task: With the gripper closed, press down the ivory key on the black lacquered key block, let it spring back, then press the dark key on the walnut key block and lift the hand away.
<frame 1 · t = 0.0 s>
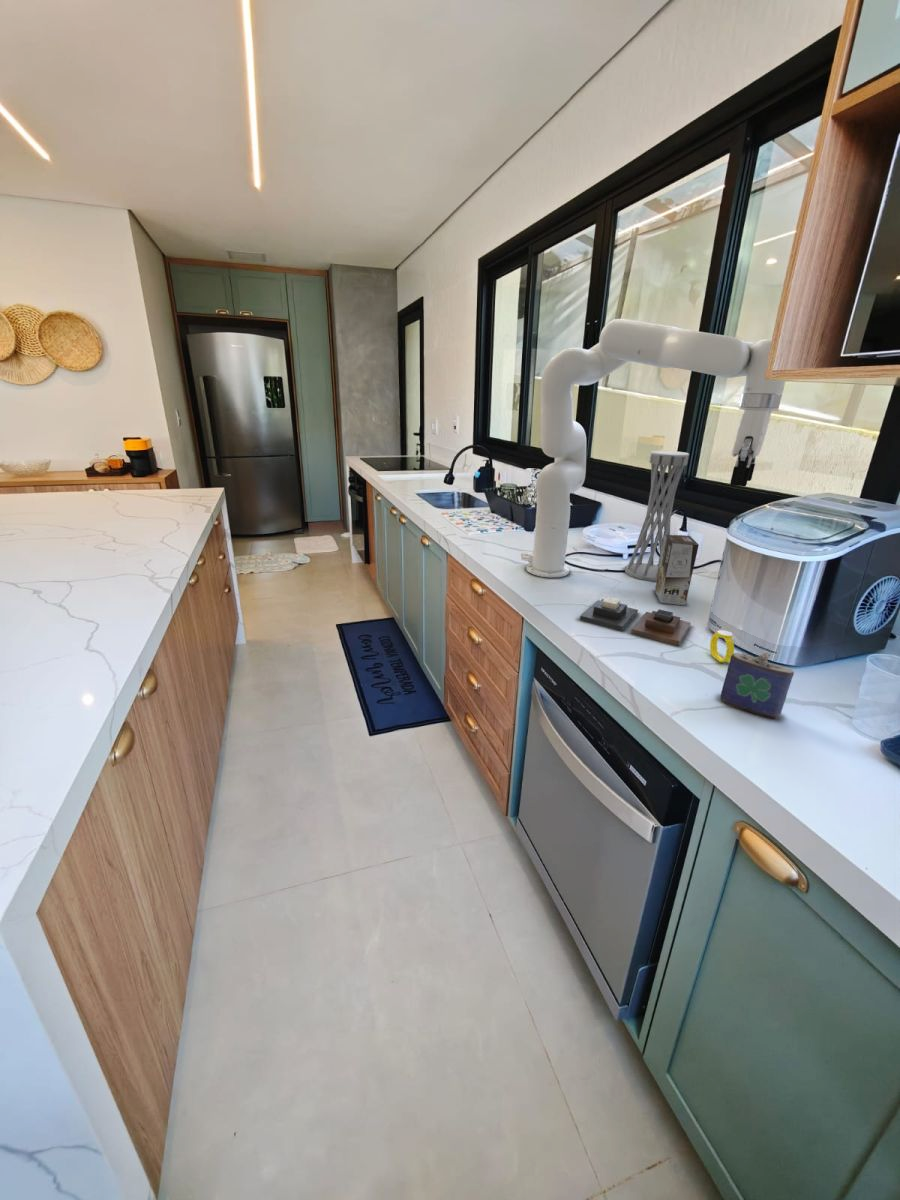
hand: (740, 482, 116), 31 cm above the countertop, tool pointing down, fingers open, 9 cm apart
dark key: (663, 616, 113), point 3 cm above the countertop, slide at 0.1 cm
flask: (748, 708, 87), on the countertop
coffee box: (669, 598, 133), on the countertop
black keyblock: (608, 617, 121), on the countertop
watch: (718, 660, 103), on the countertop
grey lattice tower: (647, 573, 151), on the countertop
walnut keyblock: (660, 630, 115), on the countertop
ivory key: (611, 603, 119), point 3 cm above the countertop, slide at 0.1 cm
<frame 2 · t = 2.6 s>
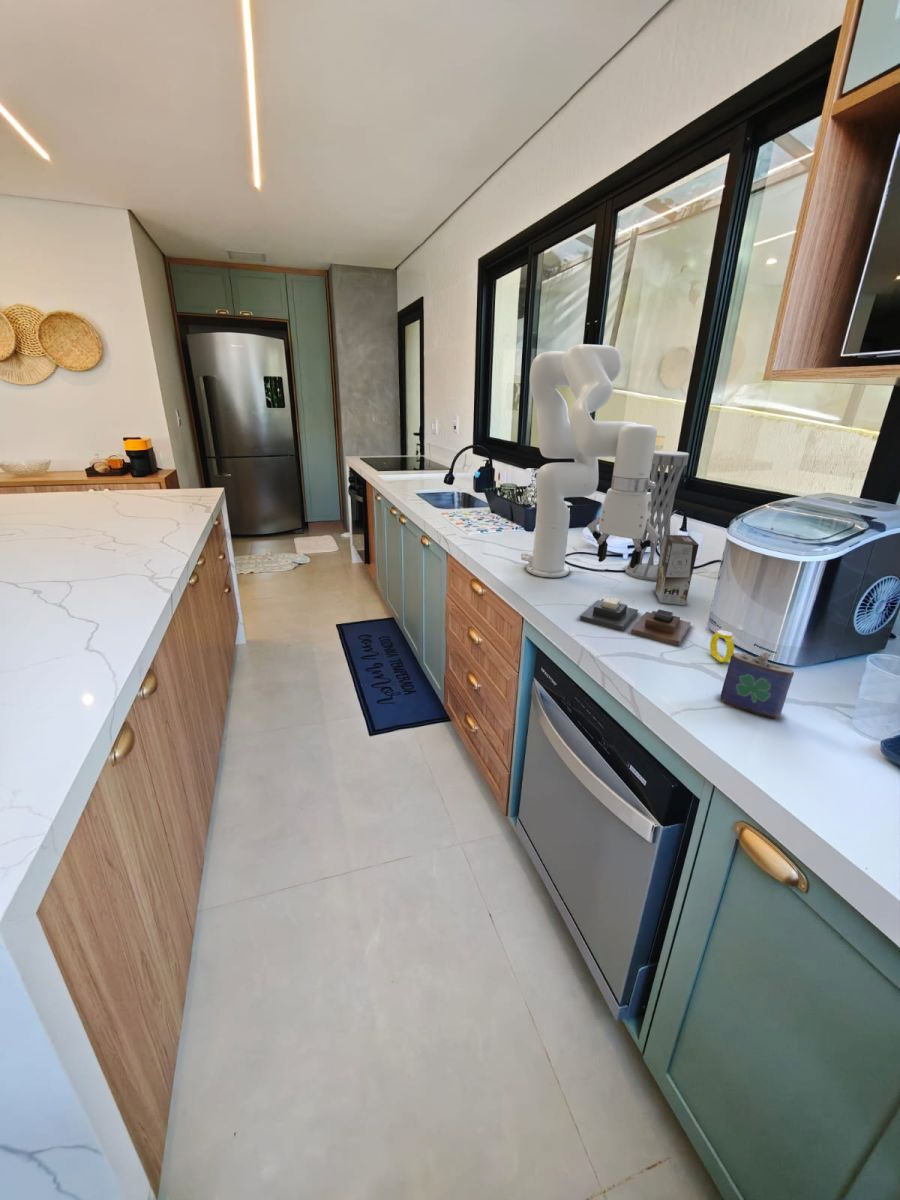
hand: (617, 562, 116), 14 cm above the countertop, tool pointing down, fingers open, 6 cm apart
nothing on the countertop moved.
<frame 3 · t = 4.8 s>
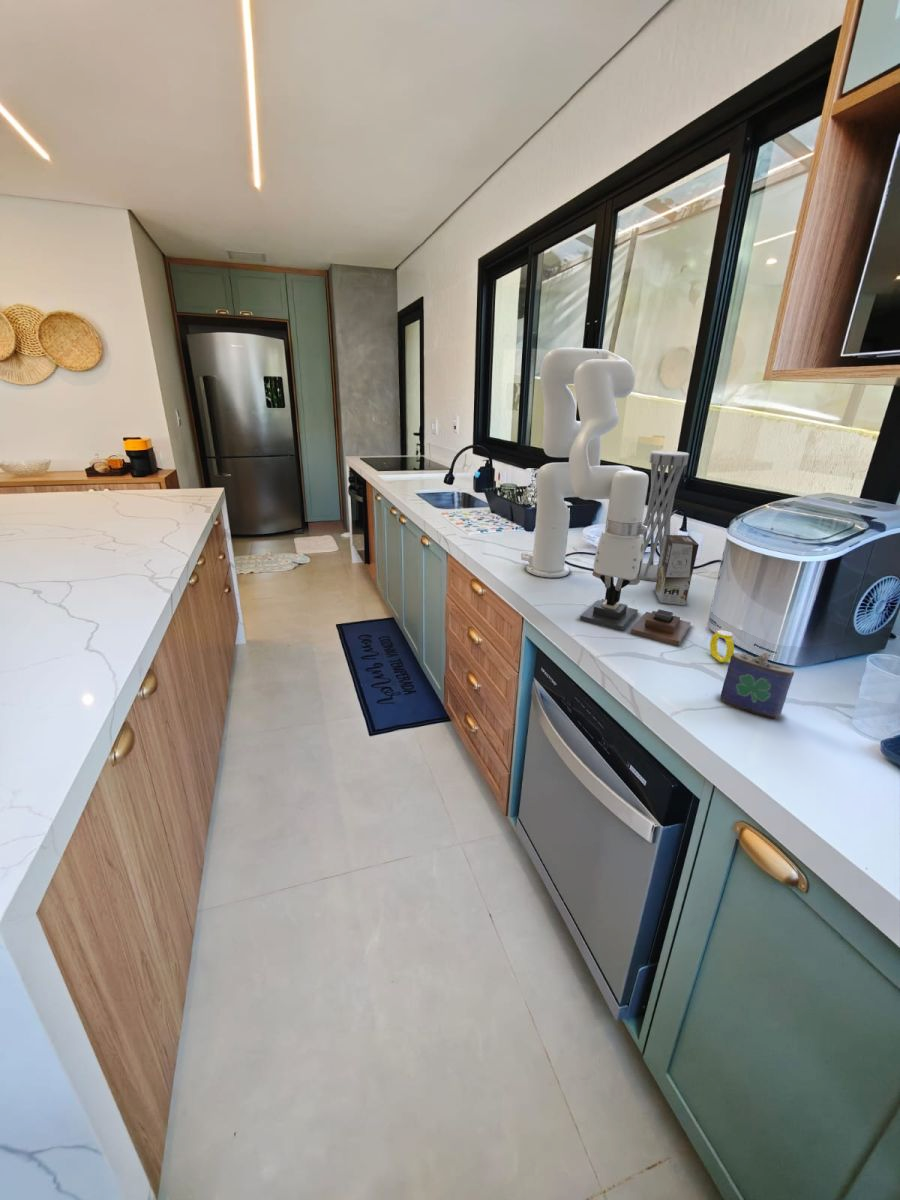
hand: (611, 603, 119), 4 cm above the countertop, tool pointing down, fingers closed
ivory key: (610, 606, 120), point 3 cm above the countertop, slide at -0.7 cm, touching gripper
everything else where it was.
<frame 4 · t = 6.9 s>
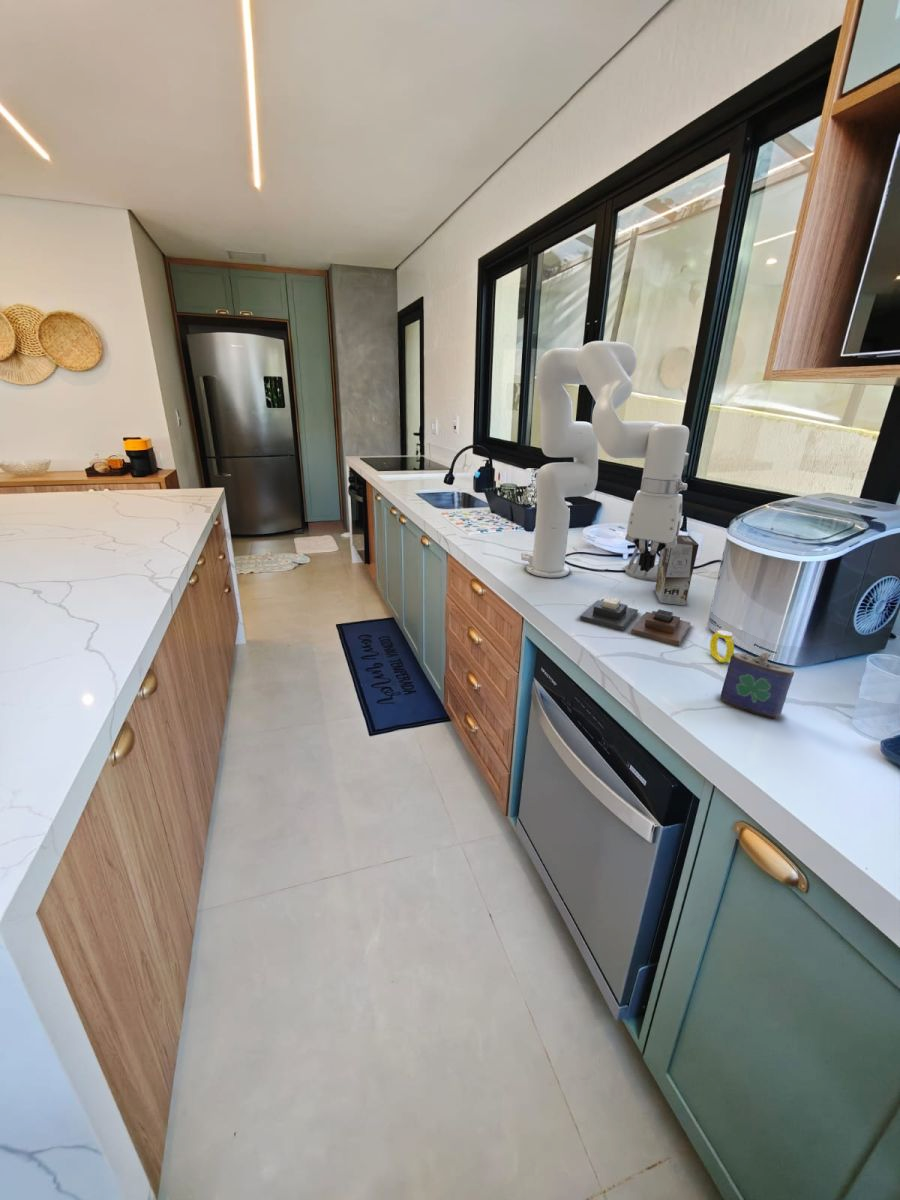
hand: (645, 569, 112), 13 cm above the countertop, tool pointing down, fingers closed
ivory key: (611, 603, 119), point 3 cm above the countertop, slide at 0.1 cm
everything else where it was.
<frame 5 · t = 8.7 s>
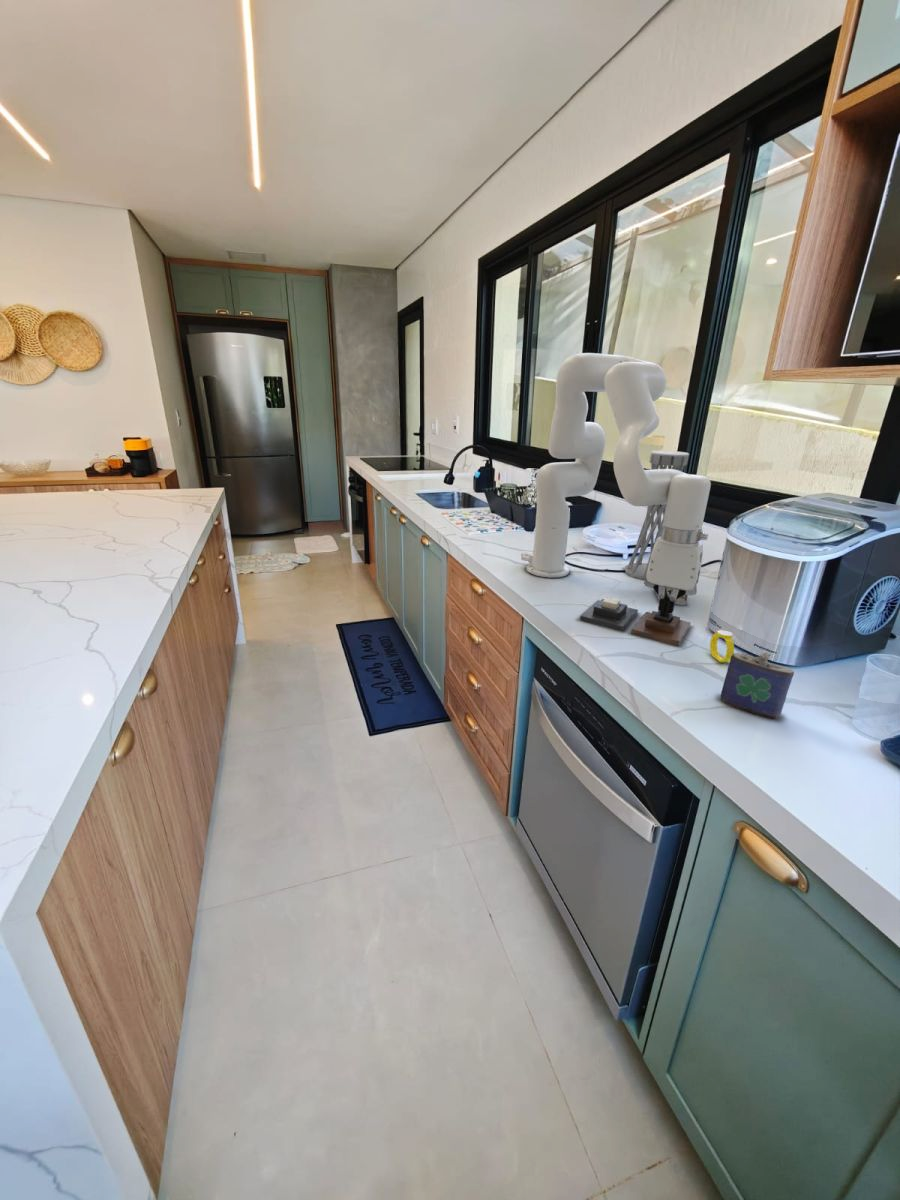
hand: (664, 614, 113), 4 cm above the countertop, tool pointing down, fingers closed
dark key: (663, 617, 113), point 3 cm above the countertop, slide at -0.3 cm, touching gripper
everything else where it was.
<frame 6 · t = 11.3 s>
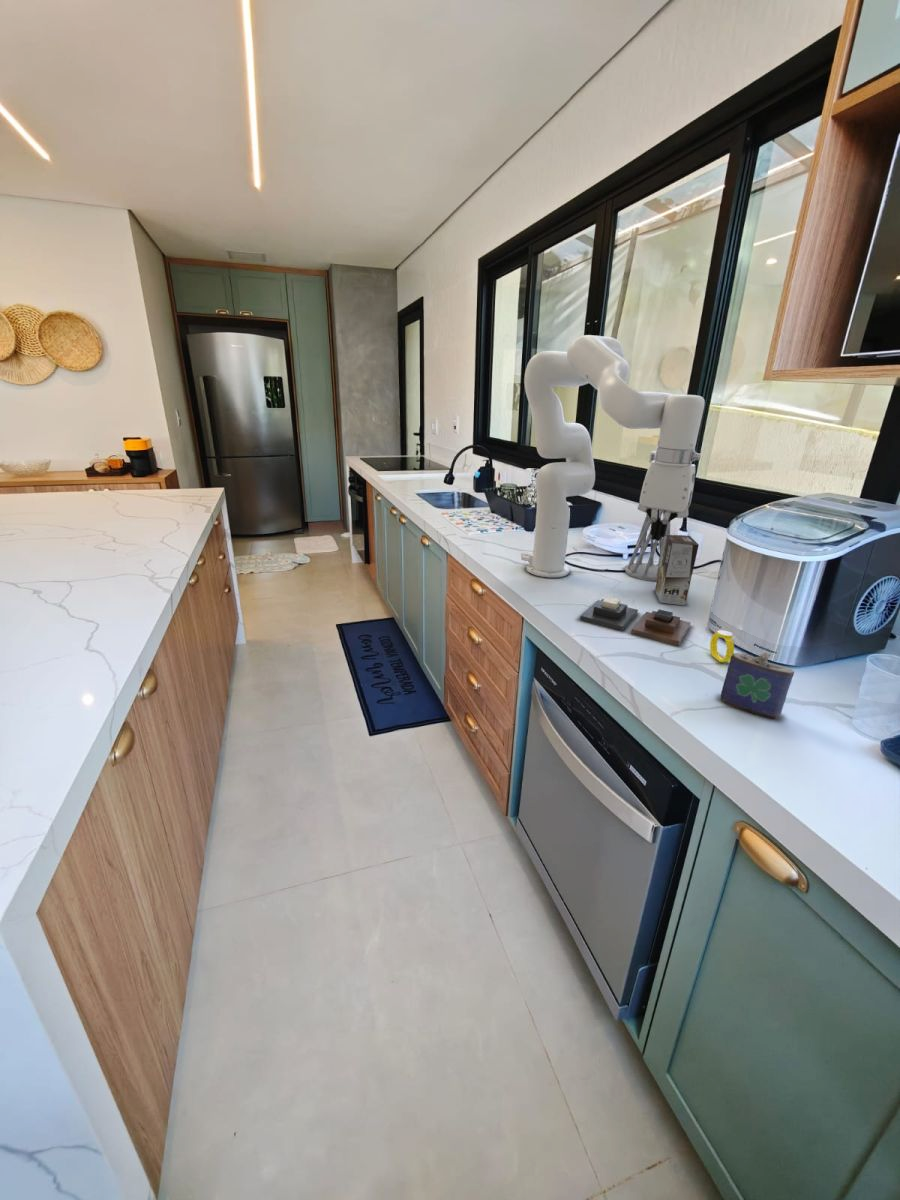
hand: (656, 538, 115), 19 cm above the countertop, tool pointing down, fingers closed
dark key: (663, 616, 113), point 3 cm above the countertop, slide at 0.1 cm
everything else where it was.
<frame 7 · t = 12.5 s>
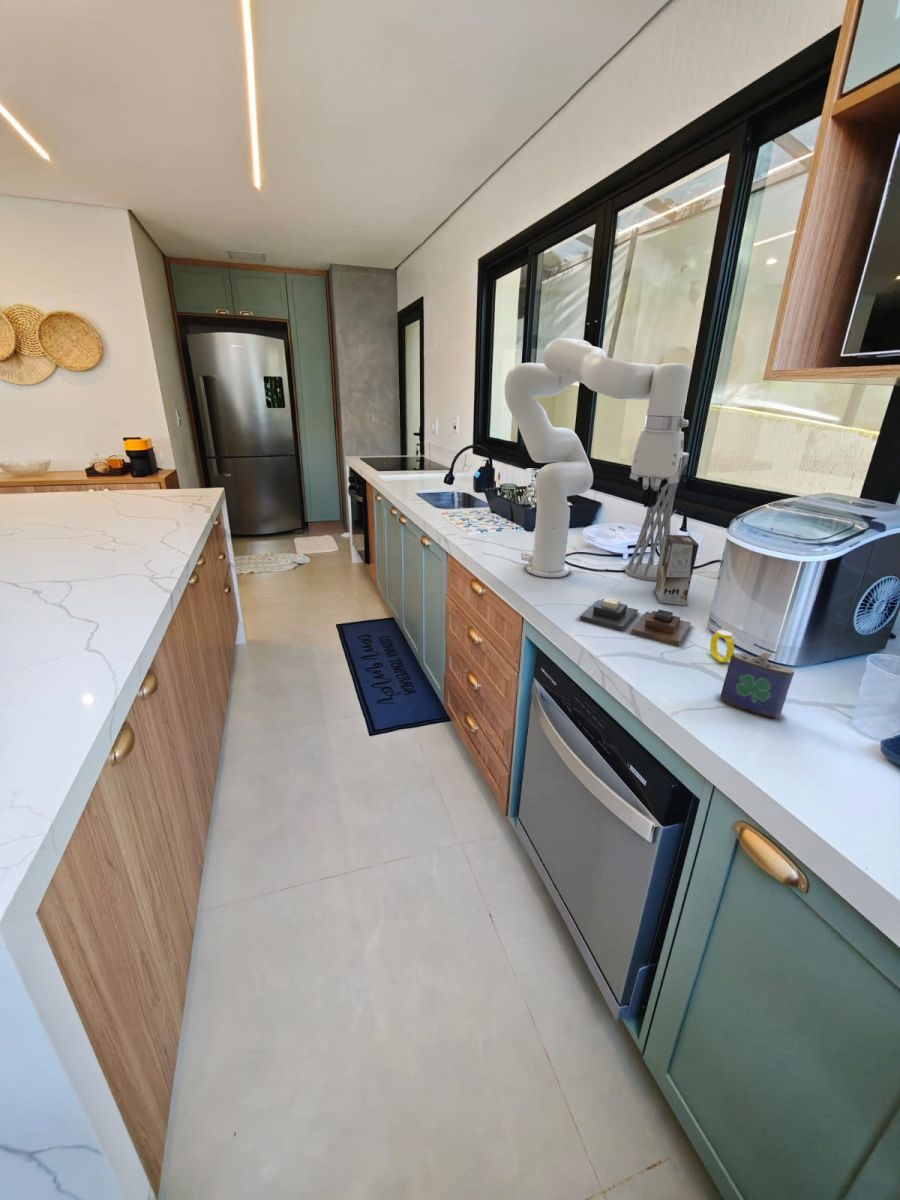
hand: (648, 506, 119), 25 cm above the countertop, tool pointing down, fingers closed
nothing on the countertop moved.
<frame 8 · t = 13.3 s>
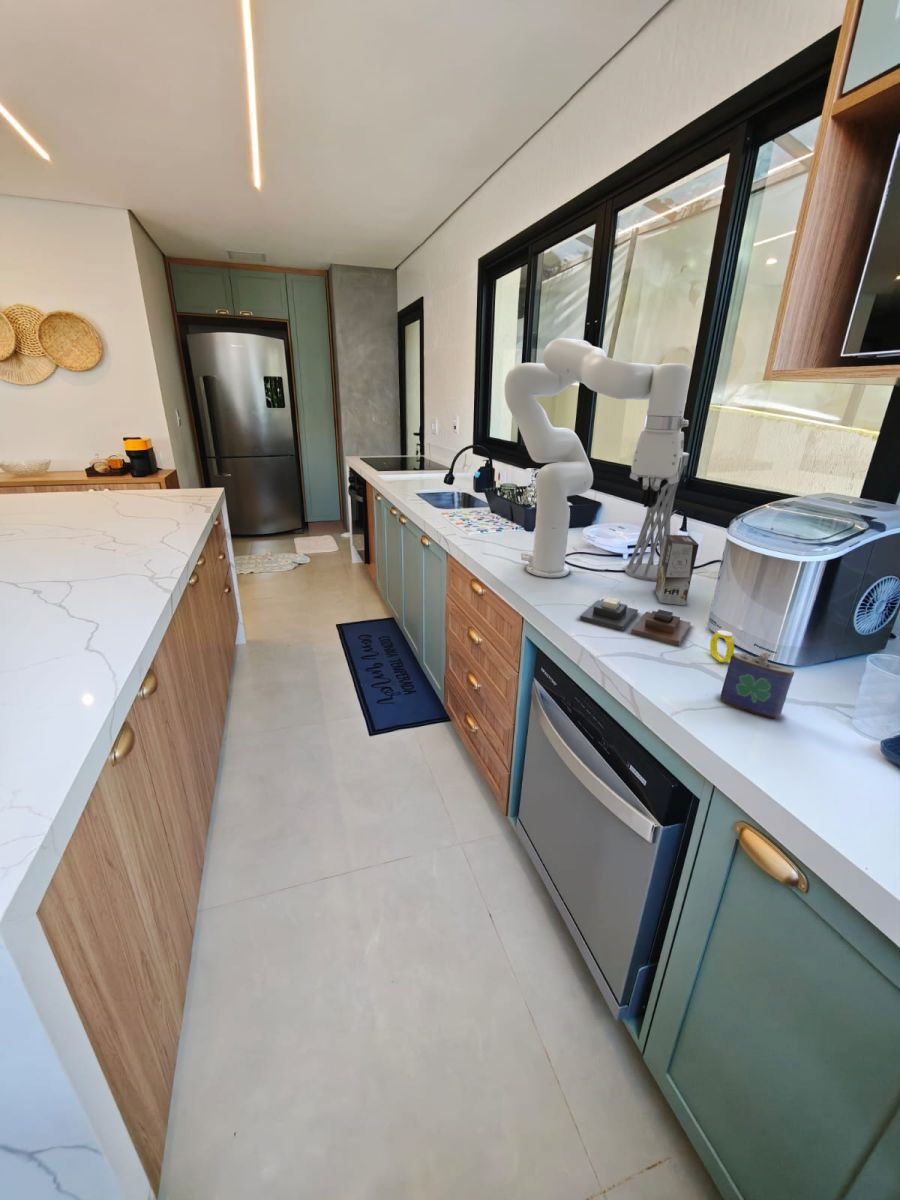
hand: (648, 506, 119), 25 cm above the countertop, tool pointing down, fingers closed
nothing on the countertop moved.
at the end: ivory key pushed in 1.1 cm at the most during the clip, back to where it started at the end; dark key pushed in 1.1 cm at the most during the clip, back to where it started at the end; dark key slide at 0.1 cm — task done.
